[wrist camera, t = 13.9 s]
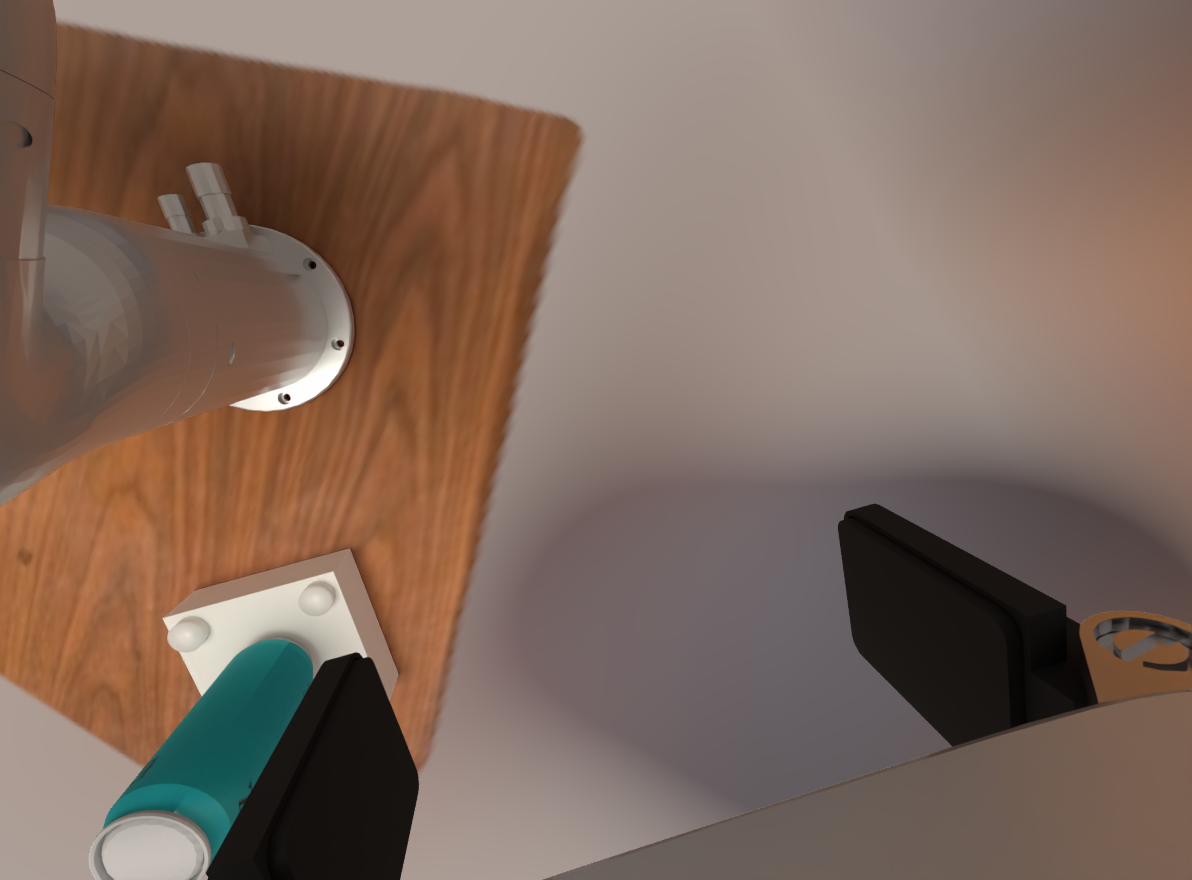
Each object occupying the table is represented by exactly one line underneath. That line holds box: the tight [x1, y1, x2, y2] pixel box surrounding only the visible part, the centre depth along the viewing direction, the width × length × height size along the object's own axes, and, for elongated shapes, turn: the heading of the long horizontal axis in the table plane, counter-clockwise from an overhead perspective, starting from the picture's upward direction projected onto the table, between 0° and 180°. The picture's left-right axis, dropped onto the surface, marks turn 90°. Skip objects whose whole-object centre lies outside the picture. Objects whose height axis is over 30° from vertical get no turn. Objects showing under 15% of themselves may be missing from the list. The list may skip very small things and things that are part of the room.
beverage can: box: [89, 637, 313, 880], centre depth 33 cm, size 6×6×15 cm
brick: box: [163, 548, 399, 701], centre depth 42 cm, size 12×12×5 cm
